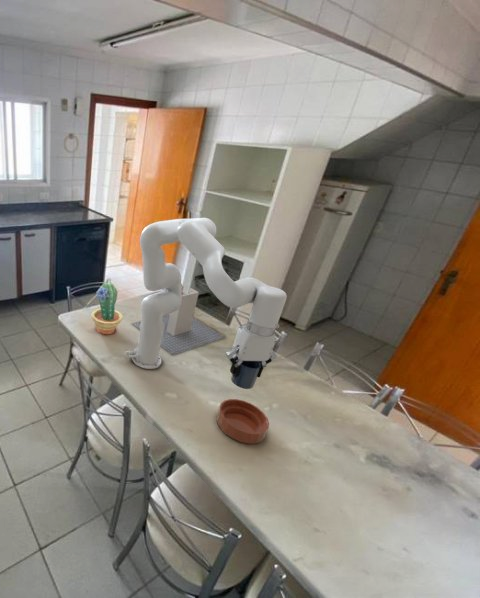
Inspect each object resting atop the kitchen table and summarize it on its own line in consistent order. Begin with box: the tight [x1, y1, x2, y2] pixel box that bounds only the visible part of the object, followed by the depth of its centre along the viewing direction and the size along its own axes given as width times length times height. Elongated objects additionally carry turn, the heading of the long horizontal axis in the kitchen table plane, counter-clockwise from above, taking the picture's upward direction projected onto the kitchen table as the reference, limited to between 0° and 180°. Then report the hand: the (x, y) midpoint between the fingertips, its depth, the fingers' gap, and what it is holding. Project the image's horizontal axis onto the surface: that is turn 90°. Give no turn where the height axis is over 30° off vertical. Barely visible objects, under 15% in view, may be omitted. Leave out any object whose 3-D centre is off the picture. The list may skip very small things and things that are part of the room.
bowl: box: [215, 398, 270, 445], centre depth 110 cm, size 15×15×5 cm
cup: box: [230, 359, 261, 390], centre depth 105 cm, size 7×7×8 cm
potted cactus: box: [91, 281, 124, 335], centre depth 158 cm, size 15×15×25 cm
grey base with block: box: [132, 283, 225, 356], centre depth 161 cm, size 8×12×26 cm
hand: (244, 374), depth 105 cm, fingers closed on cup, 6 cm apart
